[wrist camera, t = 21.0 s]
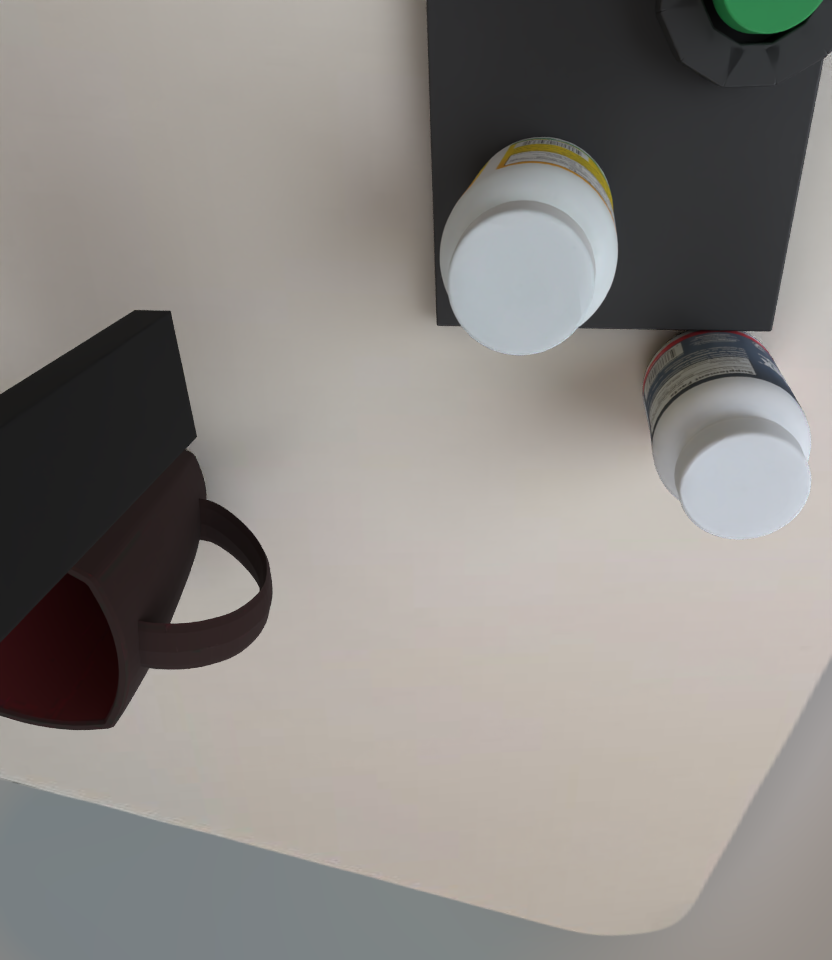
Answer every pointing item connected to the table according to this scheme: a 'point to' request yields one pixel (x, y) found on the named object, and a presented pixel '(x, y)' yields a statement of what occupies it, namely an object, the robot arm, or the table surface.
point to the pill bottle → (727, 433)
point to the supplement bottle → (530, 247)
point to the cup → (129, 610)
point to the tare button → (764, 14)
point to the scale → (640, 138)
